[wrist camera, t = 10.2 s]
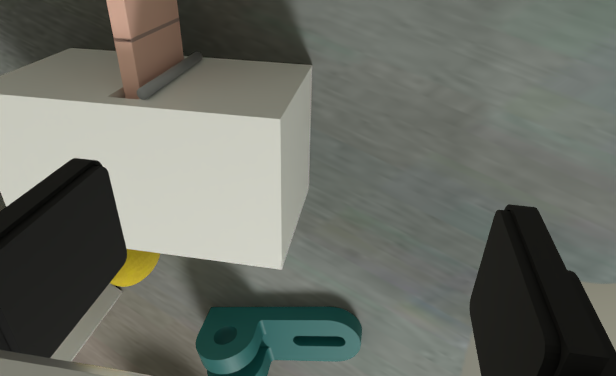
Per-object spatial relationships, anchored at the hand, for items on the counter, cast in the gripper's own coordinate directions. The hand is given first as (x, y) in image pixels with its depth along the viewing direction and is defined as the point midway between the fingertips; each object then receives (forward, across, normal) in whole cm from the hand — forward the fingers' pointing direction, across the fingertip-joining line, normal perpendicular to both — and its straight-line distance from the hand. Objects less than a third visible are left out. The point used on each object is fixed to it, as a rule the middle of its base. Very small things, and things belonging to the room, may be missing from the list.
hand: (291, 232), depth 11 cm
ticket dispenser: (+28, +15, +10) cm, 34 cm away
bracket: (+29, +6, +36) cm, 46 cm away
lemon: (+28, +22, +24) cm, 43 cm away
